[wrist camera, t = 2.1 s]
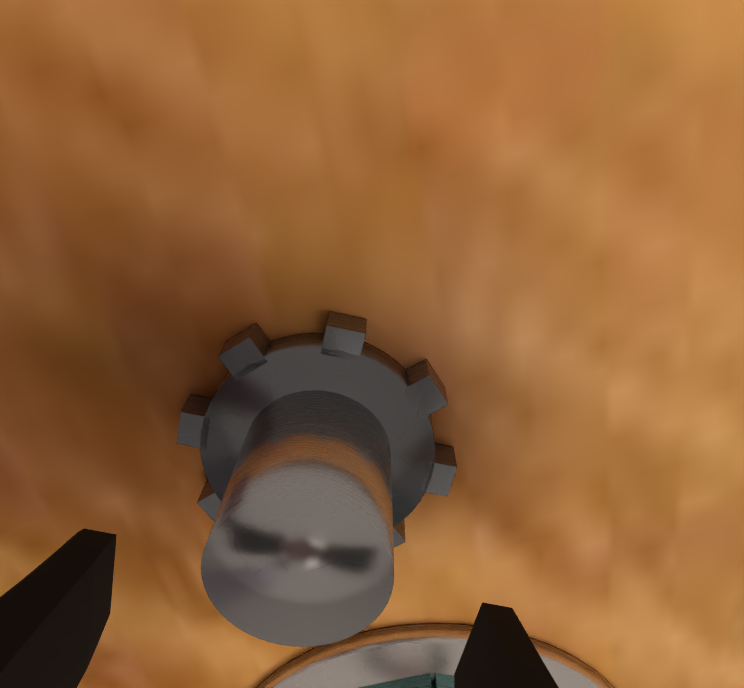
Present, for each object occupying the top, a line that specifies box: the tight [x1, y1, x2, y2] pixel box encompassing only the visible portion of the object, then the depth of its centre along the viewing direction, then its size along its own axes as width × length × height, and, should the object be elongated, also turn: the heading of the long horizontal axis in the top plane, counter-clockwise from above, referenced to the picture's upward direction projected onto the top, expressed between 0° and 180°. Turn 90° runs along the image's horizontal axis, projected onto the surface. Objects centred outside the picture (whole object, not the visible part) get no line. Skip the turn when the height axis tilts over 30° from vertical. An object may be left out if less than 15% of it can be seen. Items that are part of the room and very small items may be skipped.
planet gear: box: [177, 311, 457, 647], centre depth 16 cm, size 8×8×6 cm
